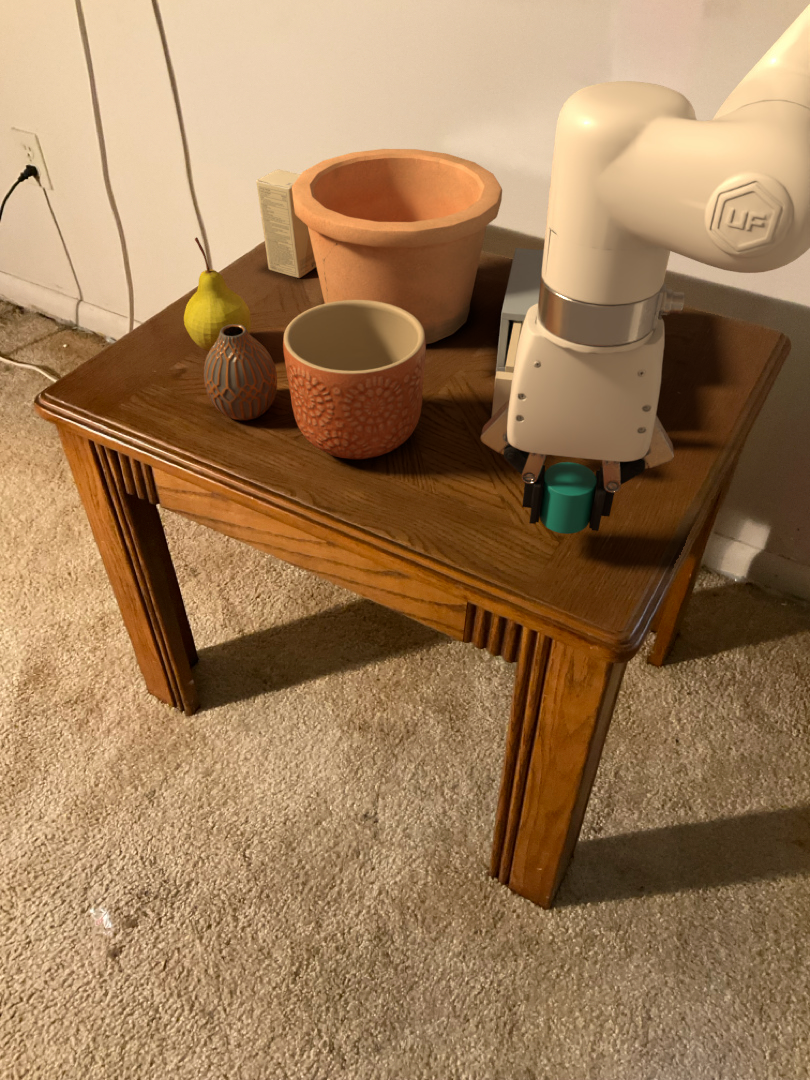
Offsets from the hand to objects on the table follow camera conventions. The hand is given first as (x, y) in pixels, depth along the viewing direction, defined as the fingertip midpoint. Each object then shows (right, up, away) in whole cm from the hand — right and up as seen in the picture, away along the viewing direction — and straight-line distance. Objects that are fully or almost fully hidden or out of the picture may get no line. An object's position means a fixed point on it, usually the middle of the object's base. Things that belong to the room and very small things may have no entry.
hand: (564, 513), depth 65 cm
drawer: (+3, +11, +15) cm, 19 cm away
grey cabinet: (+5, +20, +25) cm, 32 cm away
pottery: (-14, +25, +31) cm, 41 cm away
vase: (-29, +11, +17) cm, 35 cm away
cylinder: (0, 0, 0) cm, 0 cm away
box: (-27, +32, +38) cm, 57 cm away
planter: (-17, +8, +14) cm, 23 cm away
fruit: (-33, +19, +24) cm, 45 cm away
